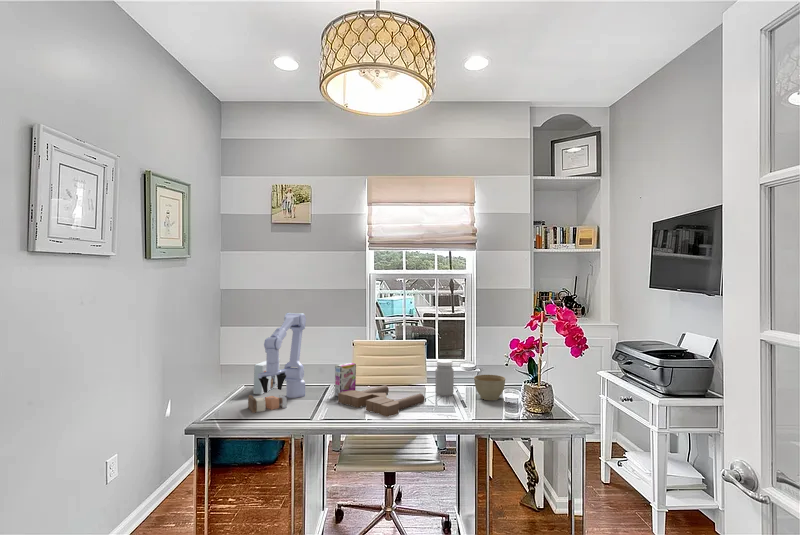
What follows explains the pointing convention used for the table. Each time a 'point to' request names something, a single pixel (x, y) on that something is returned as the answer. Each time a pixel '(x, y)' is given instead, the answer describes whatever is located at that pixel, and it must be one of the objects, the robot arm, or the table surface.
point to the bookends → (378, 400)
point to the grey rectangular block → (283, 401)
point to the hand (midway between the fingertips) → (272, 390)
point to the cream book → (260, 404)
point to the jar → (444, 378)
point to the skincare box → (272, 379)
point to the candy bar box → (345, 377)
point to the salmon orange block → (271, 402)
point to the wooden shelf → (252, 403)
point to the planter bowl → (489, 386)
